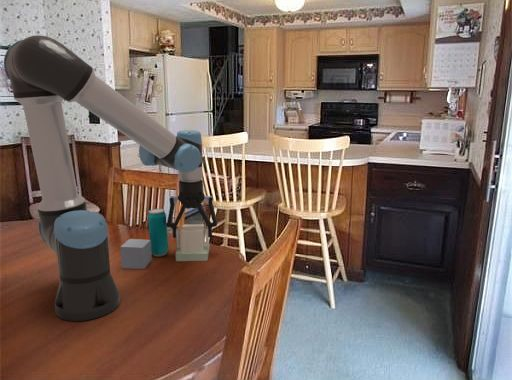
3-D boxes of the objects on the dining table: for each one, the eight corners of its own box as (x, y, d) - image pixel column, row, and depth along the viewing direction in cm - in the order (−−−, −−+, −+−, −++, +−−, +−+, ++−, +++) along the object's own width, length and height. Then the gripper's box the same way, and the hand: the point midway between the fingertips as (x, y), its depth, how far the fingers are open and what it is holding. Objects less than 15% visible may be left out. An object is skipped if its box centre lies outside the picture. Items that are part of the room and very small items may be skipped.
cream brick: (203, 251, 135) (202, 231, 134) (181, 252, 135) (180, 231, 133) (204, 244, 142) (204, 224, 140) (183, 244, 142) (183, 224, 140)
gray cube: (144, 269, 128) (142, 247, 126) (121, 268, 129) (120, 246, 127) (151, 260, 135) (150, 239, 133) (130, 259, 135) (129, 238, 134)
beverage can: (169, 250, 143) (166, 207, 139) (167, 256, 137) (164, 212, 134) (152, 251, 142) (149, 208, 139) (149, 257, 137) (146, 213, 133)
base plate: (207, 260, 134) (207, 253, 134) (175, 261, 134) (175, 253, 133) (209, 249, 144) (209, 242, 143) (179, 249, 144) (179, 242, 143)
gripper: (225, 176, 137) (226, 242, 142) (158, 177, 136) (162, 243, 141) (224, 181, 130) (225, 250, 135) (154, 182, 129) (158, 251, 134)
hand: (193, 246), depth 138 cm, fingers open, 9 cm apart
